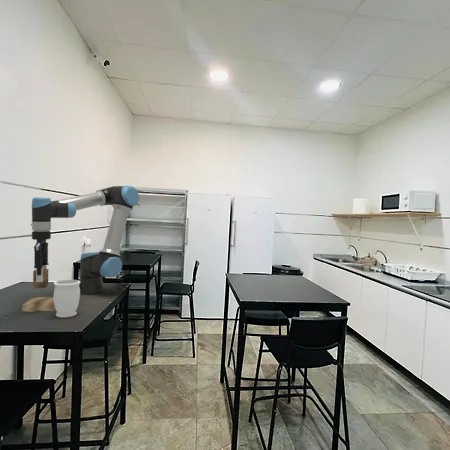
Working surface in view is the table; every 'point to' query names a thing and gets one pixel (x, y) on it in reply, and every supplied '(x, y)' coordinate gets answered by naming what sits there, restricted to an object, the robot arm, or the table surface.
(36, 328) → the table surface
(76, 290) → the jar
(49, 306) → the base
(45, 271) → the block
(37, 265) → the robot arm
